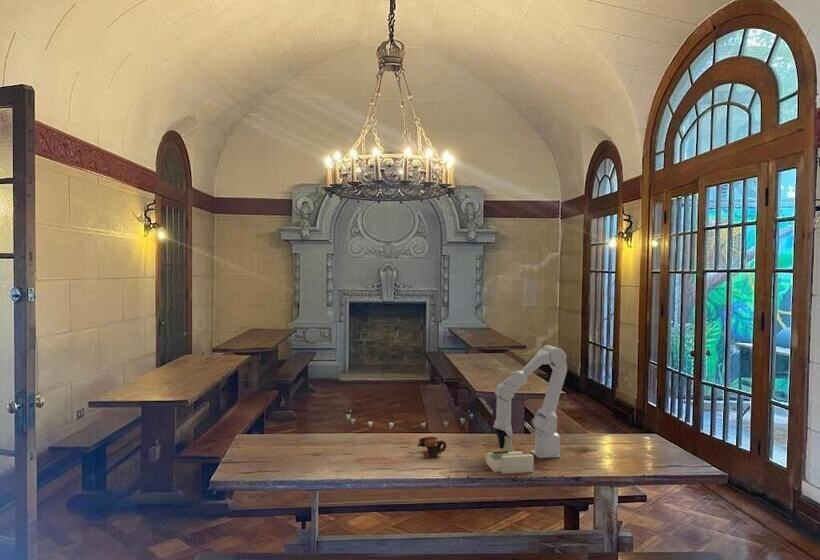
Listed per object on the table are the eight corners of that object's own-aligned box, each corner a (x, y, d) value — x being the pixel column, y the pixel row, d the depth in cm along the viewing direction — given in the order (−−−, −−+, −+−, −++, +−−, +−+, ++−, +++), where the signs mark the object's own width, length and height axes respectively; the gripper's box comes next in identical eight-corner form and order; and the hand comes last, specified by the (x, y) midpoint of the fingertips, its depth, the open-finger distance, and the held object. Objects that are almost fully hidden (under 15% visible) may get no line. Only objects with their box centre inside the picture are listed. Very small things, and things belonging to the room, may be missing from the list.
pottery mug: (416, 459, 229) (414, 438, 233) (423, 462, 237) (420, 442, 241) (445, 454, 226) (443, 433, 230) (451, 458, 234) (448, 437, 238)
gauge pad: (520, 464, 223) (521, 449, 222) (522, 465, 221) (522, 451, 221) (492, 466, 220) (492, 451, 220) (493, 467, 219) (493, 452, 219)
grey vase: (517, 466, 221) (518, 440, 221) (498, 465, 222) (499, 439, 222) (516, 460, 228) (517, 434, 228) (498, 458, 230) (498, 433, 229)
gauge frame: (521, 461, 227) (521, 445, 227) (533, 471, 216) (533, 455, 216) (485, 463, 224) (486, 447, 224) (496, 474, 213) (496, 458, 213)
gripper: (487, 409, 236) (487, 442, 237) (500, 419, 222) (499, 454, 222) (504, 409, 237) (503, 442, 238) (518, 419, 223) (517, 453, 224)
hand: (502, 448), depth 230 cm, fingers closed
